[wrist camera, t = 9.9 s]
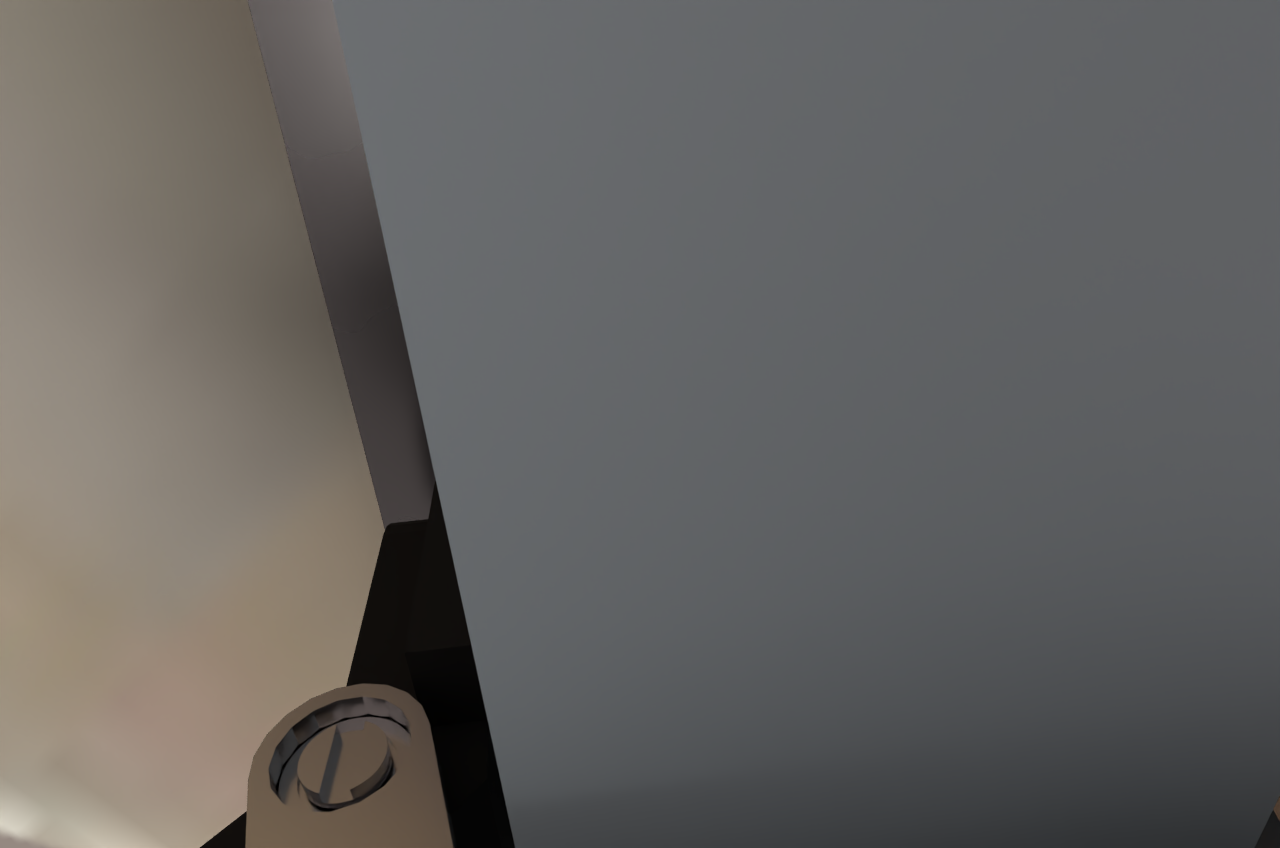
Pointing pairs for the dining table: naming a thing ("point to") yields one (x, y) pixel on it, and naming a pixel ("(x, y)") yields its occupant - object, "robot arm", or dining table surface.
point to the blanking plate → (849, 408)
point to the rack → (347, 244)
